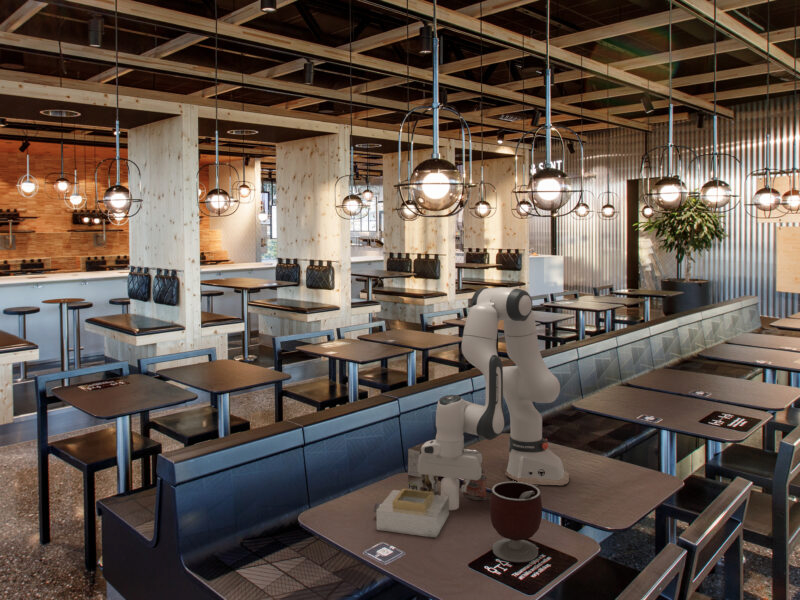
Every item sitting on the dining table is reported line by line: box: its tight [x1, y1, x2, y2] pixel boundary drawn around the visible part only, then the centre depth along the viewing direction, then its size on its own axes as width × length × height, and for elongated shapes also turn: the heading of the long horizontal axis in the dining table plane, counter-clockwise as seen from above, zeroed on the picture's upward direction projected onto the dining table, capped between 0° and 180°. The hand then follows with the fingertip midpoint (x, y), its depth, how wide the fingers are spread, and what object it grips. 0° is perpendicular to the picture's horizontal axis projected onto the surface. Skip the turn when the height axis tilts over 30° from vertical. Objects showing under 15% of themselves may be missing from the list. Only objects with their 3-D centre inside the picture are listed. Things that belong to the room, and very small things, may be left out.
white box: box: [374, 488, 450, 539], centre depth 193 cm, size 21×16×8 cm
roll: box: [440, 477, 460, 511], centre depth 203 cm, size 6×12×6 cm
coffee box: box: [407, 442, 439, 494], centre depth 214 cm, size 9×6×16 cm
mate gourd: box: [489, 481, 543, 563], centre depth 173 cm, size 16×14×20 cm
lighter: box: [462, 468, 488, 501], centre depth 211 cm, size 8×3×10 cm, turn 62°
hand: (449, 490), depth 203 cm, fingers open, 8 cm apart
